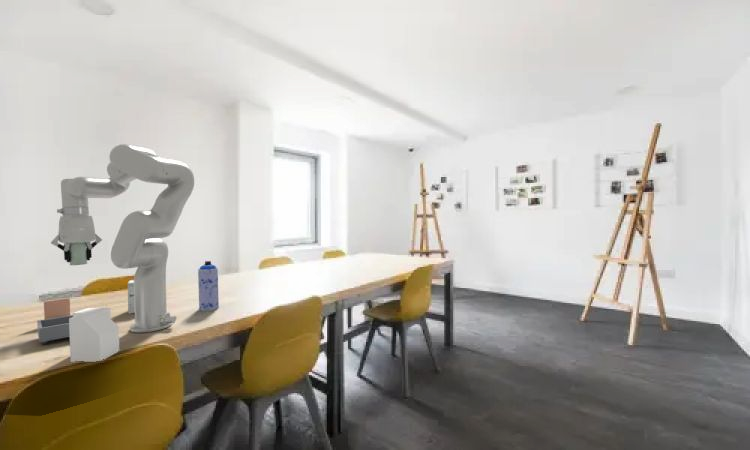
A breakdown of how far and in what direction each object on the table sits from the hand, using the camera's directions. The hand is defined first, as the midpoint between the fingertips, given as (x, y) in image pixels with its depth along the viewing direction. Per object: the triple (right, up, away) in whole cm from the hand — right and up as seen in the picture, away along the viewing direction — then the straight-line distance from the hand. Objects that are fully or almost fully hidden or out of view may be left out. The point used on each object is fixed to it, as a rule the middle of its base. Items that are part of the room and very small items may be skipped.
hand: (78, 260), depth 132 cm
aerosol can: (+41, -22, +17) cm, 49 cm away
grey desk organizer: (+4, -23, -12) cm, 26 cm away
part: (0, -1, 0) cm, 1 cm away
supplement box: (+13, -23, +15) cm, 30 cm away
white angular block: (+30, -24, -31) cm, 49 cm away
